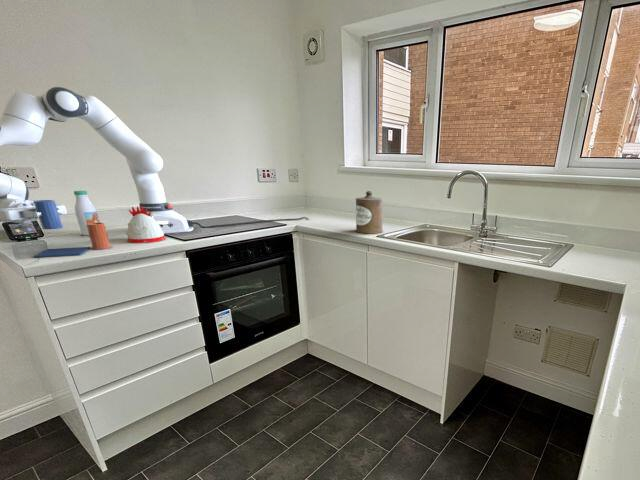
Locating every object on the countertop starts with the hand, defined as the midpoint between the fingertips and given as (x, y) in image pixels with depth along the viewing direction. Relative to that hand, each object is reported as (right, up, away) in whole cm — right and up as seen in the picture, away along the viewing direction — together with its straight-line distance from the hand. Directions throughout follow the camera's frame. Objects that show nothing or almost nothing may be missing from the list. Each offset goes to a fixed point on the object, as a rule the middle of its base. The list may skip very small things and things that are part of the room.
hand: (50, 213), depth 130 cm
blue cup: (-1, -5, +2) cm, 6 cm away
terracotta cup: (+7, -11, +15) cm, 19 cm away
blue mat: (0, -14, +6) cm, 15 cm away
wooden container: (+113, +7, +70) cm, 133 cm away
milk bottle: (-18, -1, +38) cm, 42 cm away
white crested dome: (+13, -5, +31) cm, 34 cm away
